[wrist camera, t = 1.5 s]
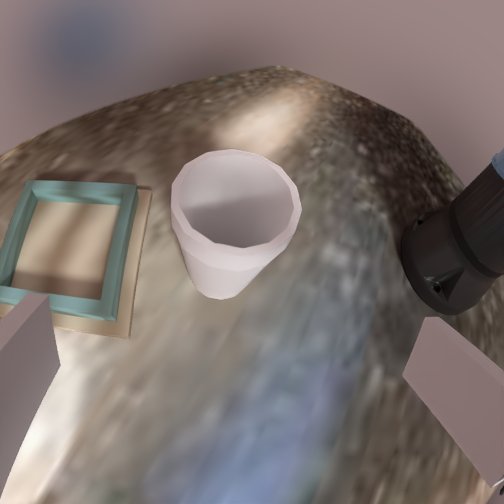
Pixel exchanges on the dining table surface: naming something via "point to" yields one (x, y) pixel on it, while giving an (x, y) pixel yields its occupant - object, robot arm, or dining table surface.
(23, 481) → the dining table surface
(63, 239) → the plate
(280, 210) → the foam cup
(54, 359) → the robot arm
